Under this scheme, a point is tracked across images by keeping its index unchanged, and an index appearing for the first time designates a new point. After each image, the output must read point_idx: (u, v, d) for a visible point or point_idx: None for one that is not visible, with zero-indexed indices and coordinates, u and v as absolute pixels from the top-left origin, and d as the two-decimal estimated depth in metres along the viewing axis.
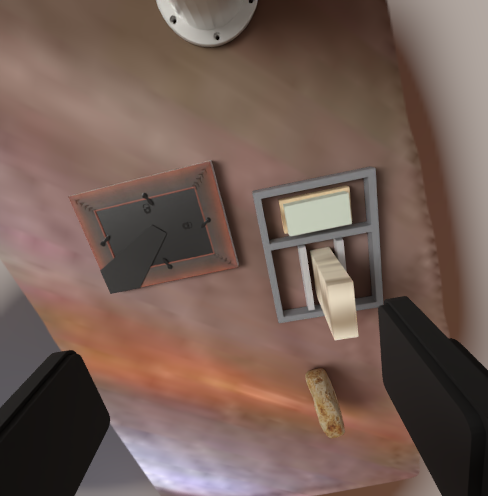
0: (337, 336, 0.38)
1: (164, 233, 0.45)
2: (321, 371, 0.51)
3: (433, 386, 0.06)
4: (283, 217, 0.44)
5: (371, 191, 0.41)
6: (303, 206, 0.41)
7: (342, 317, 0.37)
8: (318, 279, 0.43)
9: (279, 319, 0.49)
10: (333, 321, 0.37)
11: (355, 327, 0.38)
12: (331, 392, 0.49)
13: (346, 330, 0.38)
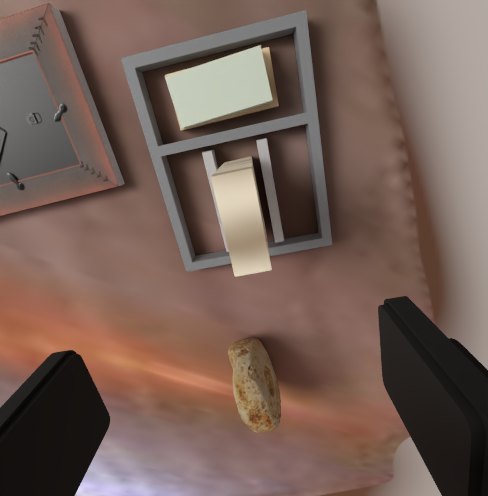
0: (238, 270, 0.24)
1: (3, 133, 0.30)
2: (250, 341, 0.37)
3: (433, 386, 0.06)
4: None
5: (302, 53, 0.27)
6: (193, 74, 0.26)
7: (242, 235, 0.23)
8: None
9: (186, 266, 0.35)
10: (228, 243, 0.23)
11: (265, 253, 0.23)
12: (259, 368, 0.34)
13: (252, 259, 0.23)
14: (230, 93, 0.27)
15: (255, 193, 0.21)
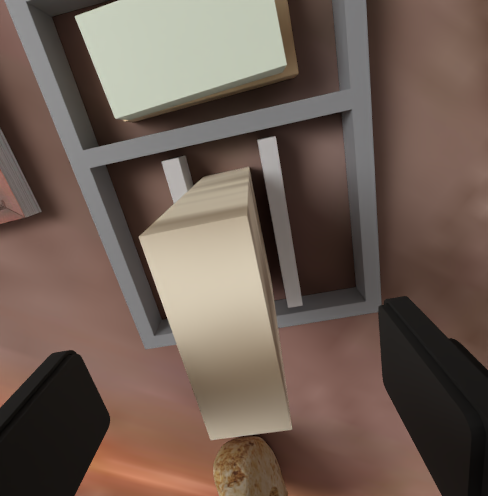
0: (218, 429, 0.11)
1: None
2: (247, 450, 0.24)
3: (433, 386, 0.06)
4: None
5: None
6: (131, 12, 0.13)
7: (224, 364, 0.10)
8: None
9: (145, 341, 0.22)
10: (193, 379, 0.10)
11: (278, 400, 0.10)
12: None
13: (248, 409, 0.10)
14: (205, 51, 0.14)
15: (256, 276, 0.08)
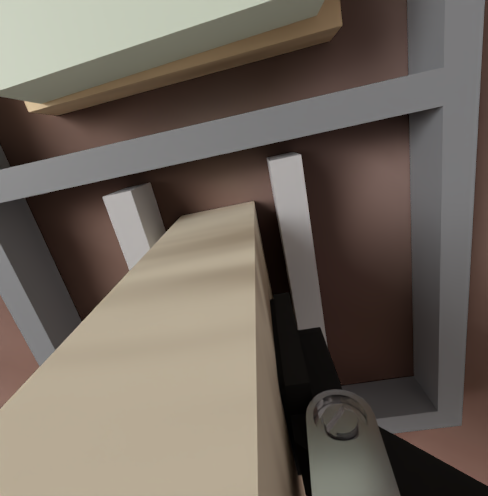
0: None
1: None
2: None
3: None
4: None
5: None
6: None
7: None
8: None
9: None
10: None
11: None
12: None
13: None
14: None
15: None
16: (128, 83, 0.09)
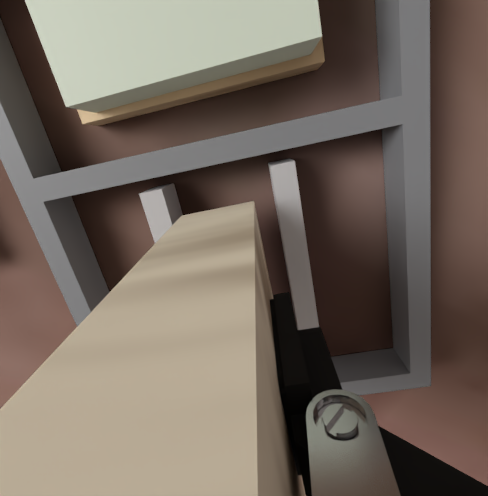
0: None
1: None
2: None
3: None
4: None
5: None
6: None
7: None
8: None
9: None
10: None
11: None
12: None
13: None
14: (200, 10, 0.09)
15: None
16: (160, 102, 0.12)
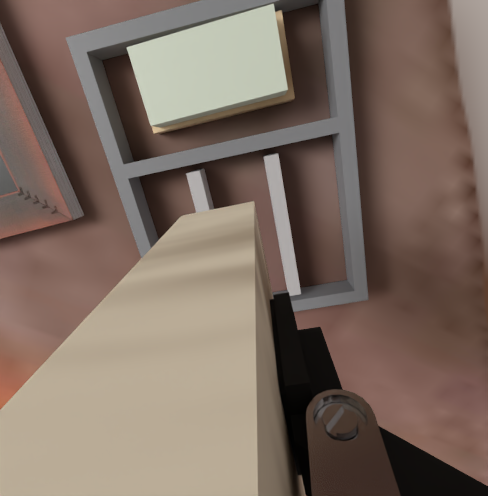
0: None
1: None
2: None
3: None
4: None
5: (333, 29, 0.18)
6: (170, 46, 0.17)
7: None
8: None
9: None
10: None
11: None
12: None
13: None
14: (224, 77, 0.18)
15: None
16: (200, 121, 0.21)
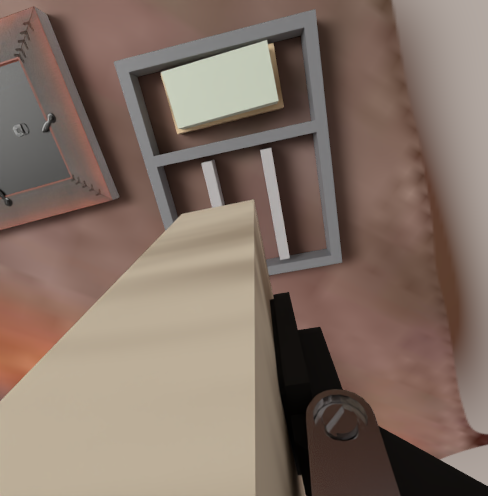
0: None
1: None
2: None
3: None
4: None
5: (311, 56, 0.24)
6: (192, 70, 0.24)
7: None
8: None
9: None
10: None
11: None
12: None
13: None
14: (232, 92, 0.24)
15: None
16: (212, 124, 0.27)
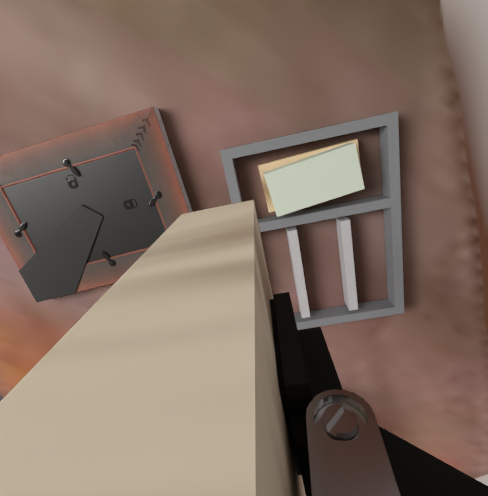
0: None
1: (100, 217, 0.32)
2: None
3: None
4: (265, 189, 0.31)
5: (391, 147, 0.29)
6: (291, 171, 0.28)
7: None
8: None
9: None
10: None
11: None
12: None
13: None
14: (324, 185, 0.29)
15: None
16: None
